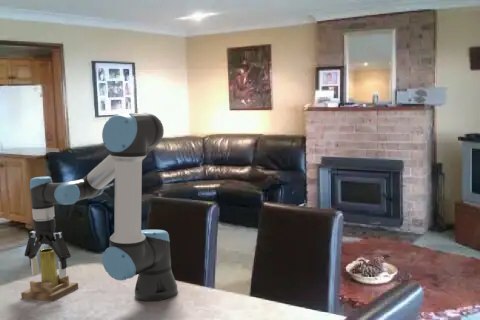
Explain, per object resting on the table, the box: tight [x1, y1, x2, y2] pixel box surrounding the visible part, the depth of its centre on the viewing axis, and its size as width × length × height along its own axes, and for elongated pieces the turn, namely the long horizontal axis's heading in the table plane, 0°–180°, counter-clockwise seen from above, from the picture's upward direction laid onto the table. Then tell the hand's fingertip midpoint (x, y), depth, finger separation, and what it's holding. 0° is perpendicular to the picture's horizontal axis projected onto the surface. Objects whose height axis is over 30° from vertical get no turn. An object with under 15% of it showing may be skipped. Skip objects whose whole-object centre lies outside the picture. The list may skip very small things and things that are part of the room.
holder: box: [20, 273, 79, 302], centre depth 187 cm, size 14×14×6 cm
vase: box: [39, 247, 59, 287], centre depth 187 cm, size 6×6×14 cm
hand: (49, 276), depth 187 cm, fingers open, 12 cm apart
